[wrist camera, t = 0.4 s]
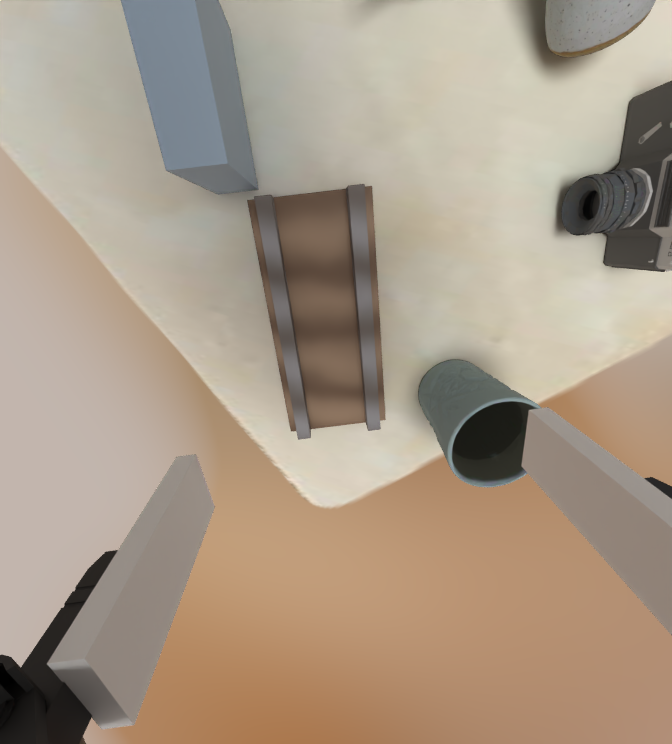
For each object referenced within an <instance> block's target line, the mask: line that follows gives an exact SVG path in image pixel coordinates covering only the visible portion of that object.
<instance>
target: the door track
mask: <svg viewBox="0 0 672 744" xmlns="http://www.w3.org/2000/svg"><path fill="white" fill-rule="evenodd" d="M254 199H255V200H247V201H248V206H249V212H250V217H251V222H252V228H253V233H254V238H255V243H256V249H257V254H258V259H259V265H260V270H261V275H262V280H263V286H264V291H265V296H266V302H267V307H268V312H269V317H270V323H271V328H272V333H273V339H274V344H275V349H276V354H277V360H278V365H279V370H280V376H281V381H282V386H283V392H284V397H285V402H286V407H287V413H288V418H289V423H290V429H291V431H297V436H298V439H306V438H311V429H315V428H323V427H331V426H339V425H347V424H355V423H363V422H366V425H367V428H368V431H371V430H379V429H380V420H385V403H384V386H383V369H382V352H381V334H380V317H379V300H378V282H377V265H376V248H375V231H374V213H373V196H372V186H368V187H365V185H364V184H359V185H351V186H348V187H347V188H346V189H342V190H333V191H324V192H316V193H307V194H299V195H290V196H281V197H272V196H271V195H264V196H255V197H254Z"/></svg>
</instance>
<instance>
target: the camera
mask: <svg viewBox="0 0 672 744" xmlns="http://www.w3.org/2000/svg"><path fill="white" fill-rule="evenodd" d="M562 221H563V225H564V227H565V228H566V230H567V231H568V232H570V233H571V234H573V235H587V234H588V235H589V234H591V233H606V234H607V235H608V239H607V245H606V252H605V258H604V264H605V265H606V266H612V267H617V268H628V269H638V270H649V271H660V272H665V270H666V271H672V81H670V82H667V83H665V84H663V85H661V86H658V87H656V88H654V89H652V90H649V91H647V92H645V93H643V94H641V95H638V96H636V97H634V98H633V99H632V100H631V101H630V103H629V109H628V116H627V122H626V128H625V134H624V140H623V146H622V152H621V158H620V164H619V165H618V166H617V168H616V169H615V170H612V171H610V172H606V173H604V174H601V175H599V174H593V175H589V176H586V177H583V178H581V179H579V180H578V181H576V182H575V183H574V184H573V185H572V186H571V187H570V189H569V190H568V192H567V194H566V196H565V199H564V201H563V206H562Z"/></svg>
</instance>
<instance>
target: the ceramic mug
mask: <svg viewBox="0 0 672 744" xmlns="http://www.w3.org/2000/svg"><path fill="white" fill-rule="evenodd" d="M655 1H656V0H546V15H545V29H546V38H547V44H548V47H549V49H550V50H551V51H552V52H553V53H554V54H557V55H559V56H563V57H576V56H582V55H587V54H591V53H594V52H596V51H599V50H602V49H604V48H606V47H608V46H610V45H612V44H614V43H616V42H618V41H619V40H621V39H622V38H624V37H625V36H627V35H628V34H629V33H631V32H632V31H633V30H634V29H635V28H637V27H638V26H639V25H640V24H641V23H642V22H643V20H644V19H645V18H646V17H647V15H648V14H649V13H650V11H651V9H652V7H653V5H654V3H655Z"/></svg>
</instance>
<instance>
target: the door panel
mask: <svg viewBox="0 0 672 744" xmlns="http://www.w3.org/2000/svg"><path fill="white" fill-rule="evenodd" d="M121 3H122V6H123V10H124V14H125V18H126V21H127V25H128V29H129V33H130V36H131V40H132V44H133V48H134V52H135V55H136V59H137V63H138V67H139V70H140V74H141V78H142V82H143V85H144V89H145V93H146V97H147V100H148V104H149V108H150V112H151V115H152V119H153V123H154V127H155V131H156V134H157V138H158V142H159V146H160V149H161V153H162V157H163V161H164V164H165V168H166V171H168V172H170V173H173V174H175V175H177V176H179V177H181V178H183V179H186V180H188V181H190V182H192V183H194V184H197V185H199V186H201V187H203V188H205V189H207V190H210V191H212V192H214V193H216V194H225V193H234V192H243V191H251V190H258V185H257V179H256V173H255V168H254V162H253V156H252V151H251V145H250V139H249V133H248V128H247V122H246V116H245V111H244V105H243V99H242V94H241V88H240V82H239V76H238V71H237V65H236V59H235V54H234V48H233V42H232V37H231V31H230V28H229V25H228V23H227V20H226V18H225V15H224V13H223V11H222V8H221V6H220V3H219V1H218V0H121Z"/></svg>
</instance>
